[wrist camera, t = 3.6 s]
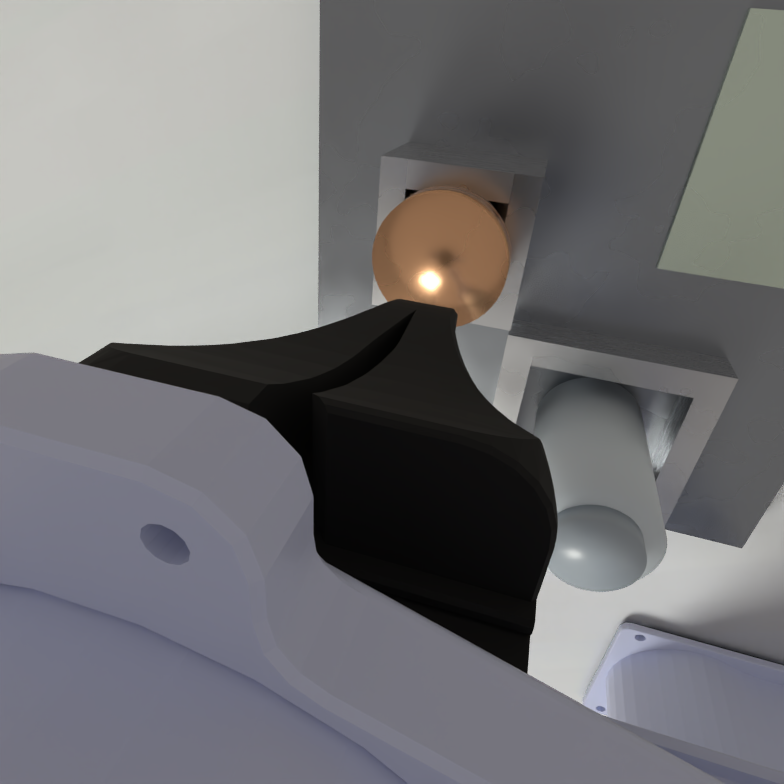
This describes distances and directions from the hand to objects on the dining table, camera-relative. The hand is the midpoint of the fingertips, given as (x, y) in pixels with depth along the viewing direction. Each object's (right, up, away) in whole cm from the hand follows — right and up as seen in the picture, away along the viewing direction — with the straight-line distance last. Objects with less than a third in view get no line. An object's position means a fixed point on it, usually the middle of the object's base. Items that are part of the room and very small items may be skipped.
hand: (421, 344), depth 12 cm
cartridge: (+7, -2, +9) cm, 12 cm away
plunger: (+2, +5, +6) cm, 8 cm away
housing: (+6, +3, +8) cm, 10 cm away
